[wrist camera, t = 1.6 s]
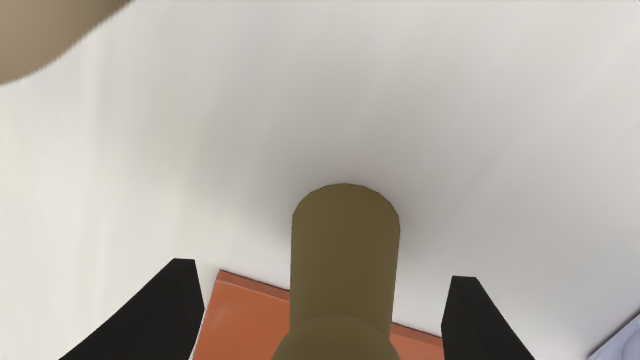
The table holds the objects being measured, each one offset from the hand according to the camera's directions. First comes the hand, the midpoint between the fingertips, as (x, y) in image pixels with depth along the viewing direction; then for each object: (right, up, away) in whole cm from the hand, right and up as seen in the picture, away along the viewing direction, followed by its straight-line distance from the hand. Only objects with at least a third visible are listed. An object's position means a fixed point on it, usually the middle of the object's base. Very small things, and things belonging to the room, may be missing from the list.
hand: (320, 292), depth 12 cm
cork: (+1, +1, +12) cm, 12 cm away
